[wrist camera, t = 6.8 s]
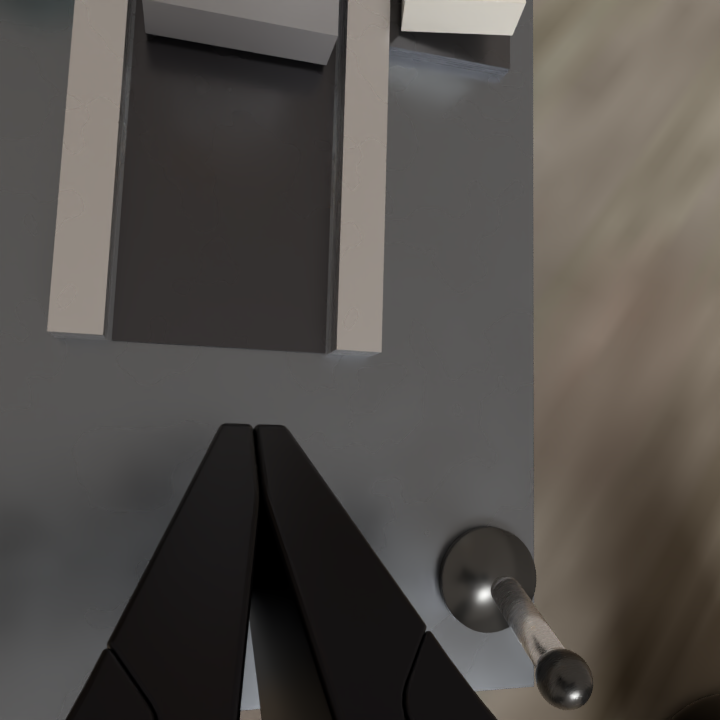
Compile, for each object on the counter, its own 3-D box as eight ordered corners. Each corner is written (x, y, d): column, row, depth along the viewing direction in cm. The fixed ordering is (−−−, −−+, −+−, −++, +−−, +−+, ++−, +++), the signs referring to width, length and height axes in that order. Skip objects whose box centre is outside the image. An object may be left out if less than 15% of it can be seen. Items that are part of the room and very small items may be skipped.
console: (508, 667, 20) (553, 701, 17) (-201, 718, 15) (-274, 774, 12) (509, -64, 22) (549, -124, 20) (-89, -214, 18) (-132, -314, 15)
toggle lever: (515, 599, 17) (596, 720, 14) (474, 601, 17) (546, 725, 14) (525, 562, 17) (610, 676, 14) (483, 563, 17) (559, 680, 13)
